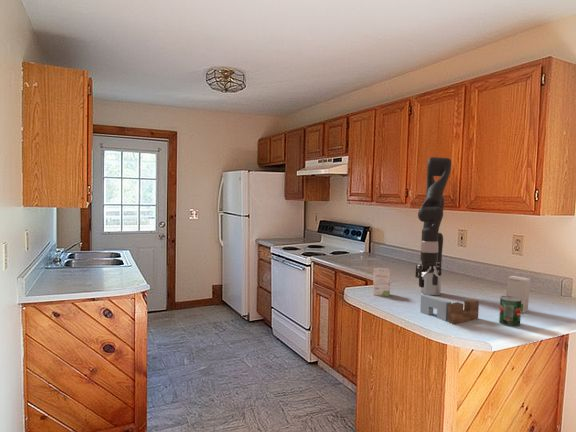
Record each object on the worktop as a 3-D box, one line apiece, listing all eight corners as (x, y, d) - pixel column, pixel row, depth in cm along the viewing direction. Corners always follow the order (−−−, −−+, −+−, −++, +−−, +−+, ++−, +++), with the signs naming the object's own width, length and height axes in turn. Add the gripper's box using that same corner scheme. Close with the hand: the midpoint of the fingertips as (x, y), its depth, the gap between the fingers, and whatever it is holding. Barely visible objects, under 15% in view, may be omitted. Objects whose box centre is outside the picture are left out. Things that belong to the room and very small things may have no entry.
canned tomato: (523, 327, 166) (524, 301, 165) (502, 326, 167) (503, 300, 167) (515, 321, 174) (517, 296, 173) (496, 320, 175) (497, 295, 174)
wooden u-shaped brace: (447, 322, 172) (448, 303, 171) (472, 316, 179) (472, 299, 179) (453, 324, 169) (454, 305, 168) (478, 318, 177) (478, 300, 176)
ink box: (389, 294, 217) (390, 266, 216) (389, 296, 212) (390, 268, 211) (373, 292, 219) (374, 265, 218) (372, 295, 215) (373, 267, 214)
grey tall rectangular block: (420, 312, 185) (420, 295, 185) (424, 311, 187) (425, 294, 186) (445, 321, 173) (446, 302, 173) (450, 320, 175) (451, 302, 174)
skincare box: (504, 309, 191) (506, 277, 190) (509, 306, 195) (511, 275, 194) (524, 313, 185) (526, 280, 184) (529, 310, 189) (530, 277, 188)
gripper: (433, 248, 189) (432, 283, 190) (411, 250, 182) (410, 286, 183) (446, 250, 182) (445, 286, 183) (424, 253, 175) (423, 289, 176)
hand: (428, 286), depth 183 cm, fingers open, 8 cm apart
